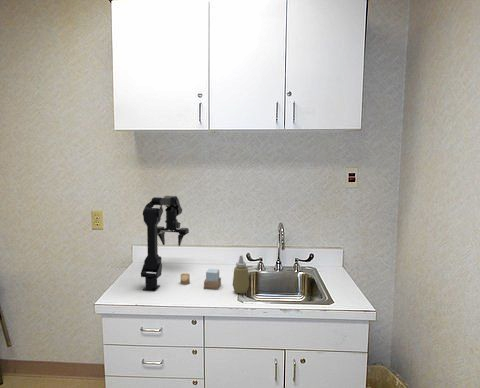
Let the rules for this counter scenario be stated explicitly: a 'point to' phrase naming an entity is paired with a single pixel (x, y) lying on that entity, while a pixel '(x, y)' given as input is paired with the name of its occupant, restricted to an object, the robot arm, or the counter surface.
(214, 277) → the blue-grey square block
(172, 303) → the counter surface
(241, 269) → the squeeze bottle
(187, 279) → the tan wooden cylinder
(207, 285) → the walnut base block
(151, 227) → the robot arm
